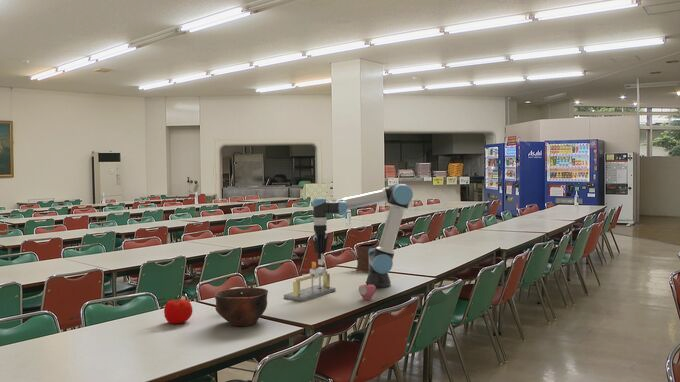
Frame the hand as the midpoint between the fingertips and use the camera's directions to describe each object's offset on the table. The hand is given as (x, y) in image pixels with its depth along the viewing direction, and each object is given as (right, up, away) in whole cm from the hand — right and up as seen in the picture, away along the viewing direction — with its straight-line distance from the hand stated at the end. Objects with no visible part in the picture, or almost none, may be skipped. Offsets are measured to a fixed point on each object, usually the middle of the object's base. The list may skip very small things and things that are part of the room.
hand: (320, 264), depth 322 cm
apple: (+26, -17, -20) cm, 37 cm away
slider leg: (-4, -14, -5) cm, 15 cm away
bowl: (-35, -20, -62) cm, 74 cm away
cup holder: (+29, -13, +71) cm, 78 cm away
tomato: (-66, -20, -59) cm, 91 cm away
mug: (-41, -19, -34) cm, 56 cm away
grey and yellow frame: (-6, -17, -5) cm, 18 cm away
